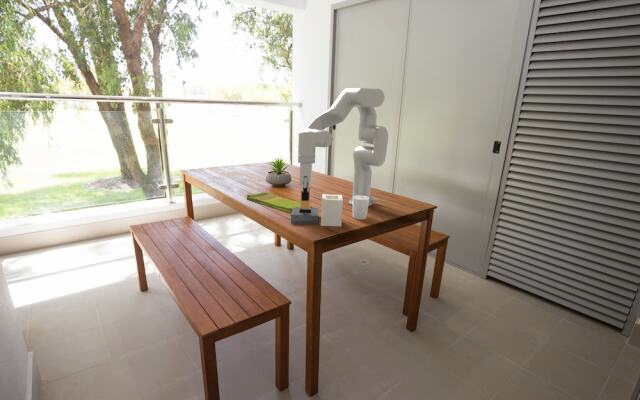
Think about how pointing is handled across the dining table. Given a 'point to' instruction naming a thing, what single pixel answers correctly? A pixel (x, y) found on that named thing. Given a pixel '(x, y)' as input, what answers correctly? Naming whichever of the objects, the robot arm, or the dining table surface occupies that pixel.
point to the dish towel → (273, 201)
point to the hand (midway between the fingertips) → (305, 198)
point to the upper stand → (331, 210)
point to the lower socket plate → (304, 215)
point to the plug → (305, 203)
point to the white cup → (360, 206)
